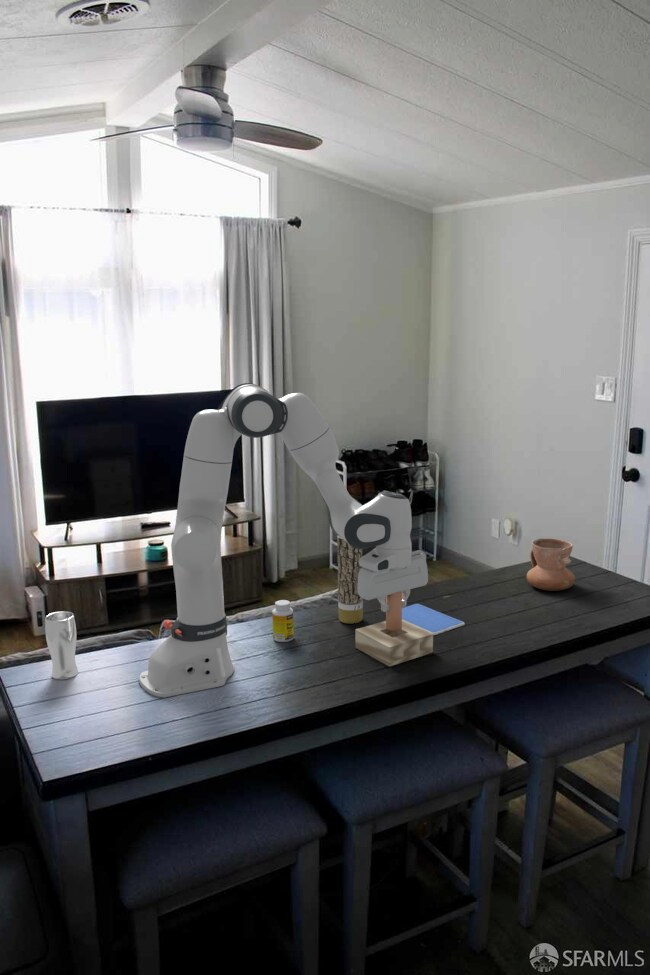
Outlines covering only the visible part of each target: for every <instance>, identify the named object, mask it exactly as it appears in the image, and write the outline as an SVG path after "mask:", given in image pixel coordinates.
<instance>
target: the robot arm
mask: <svg viewBox="0 0 650 975" xmlns="http://www.w3.org/2000/svg"><path fill="white" fill-rule="evenodd" d="M187 433H188V434H187V438H186V441H185V446H184V452H183V458H182V459H183V460H182V467H181V476H180V480H179V481H180V482H179V491H178V500H177V501H178V502H177V509H176V518H175V525H174V531H173V536H172V539H171V544H170V546H171V547H170V548H171V557H172V558H171V560H172V568H173V576H174V583H175V584H174V585H175V591H176V592H175V594H176V611H177V617H176V618H175V621H174V622H172V621H171V620H169V619H165V620H164V621H163V628H165V629H166V630H168V631H170V632H171V633H170V635H169V636H168V637H167V638H166V639H165V640H164V641H163V642H161V644H160V645H159V646H158V647H156V649H155V650H153V651H152V652H151V654H150V656H149V659H148V664H147V665H148V666H147V667H148V668H147V670H144V671H141V673H139V677H138V682H139V685H140V686H141V687H142V689H143V690H144V691H145V692H147V693H148V694H150V695H152V696H155V697H158V698H168V697H173V696H180V695H182V694H188V693H193V692H198V691H203V690H209V689H213V688H218V687H223V686H225V684H226V683H227V680H228V679H229V677H230V676H232V675H233V673H234V671H235V667H234V665H233V662H232V659H231V658H232V657H231V654H230V652H229V645H228V640H227V635H228V622H227V614H226V613H225V600H224V599H225V598H224V596H225V595H224V579H223V578H224V577H223V567H222V551H221V550H222V548H221V547H222V546H221V545H222V544H221V543H222V542H221V541H222V530H223V529H222V528H223V523H224V516H225V511H226V510H225V509H226V504H227V497H228V492H229V488H230V486H229V485H230V479H231V470H232V467H233V466H232V465H233V459H234V458H233V456H234V448H235V447H236V444H237V442H238V440H239V438H240V437H241V436H242V435H243V436H245V437H248V438H252V439H257V438H264V437H266V436H267V437H268V436H270V435H276V434H278V436H280V438H281V439H282V441H283V443H284V445H285V446H286V448H287V450H288V452H289V454H290V455H291V457H292V458H293V460H294V461H295V462H296V464H297V465H298V466H299V467H300V469H301V470H302V471H303V472H304V473H305V474H307V475H308V476H309V477H310V478H311V479H312V481H313V483H314V485H315V486H316V489H317V490H318V492H319V493H320V495H321V498H322V499H323V501H324V503H325V505H326V509H327V514H328V523H329V527H330V528H331V530H332V531H333V532H334V534H335V535H337V536H340V537H341V538H342V539H343V540H345V541H346V542H347V543H348V544H349V545H350V546H352V547H354V548H357V549H362V550H366V549H371V548H373V549H372V550H370V551H369V552H367V553H366V554H365V555H362V557H361V558H360V559H359V565H360V566H362V568H361V569H360V571H359V573H358V586H357V587H358V594H359V596H360V597H361V598H363V599H364V600H366V601H371V600H374V599H377V600H378V602H379V604H380V610H381V612H383V613H386V612H387V611H389V610H390V604H387V603H386V599H387V595H390V594H394V593H396V592H400V591H402V608H404V607H407V600H408V599H409V597H410V595H411V590H413V589H415V588H416V589H417V588H420V587H424V586H426V585H427V583H428V582H429V572H428V570H429V569H428V564H427V554H426V553H425V552H424V551H422V549H419V550H418V549H417V550H412V546H413V545H412V539H411V533H412V532H411V531H412V529H413V528H412V526H413V525H412V521H413V519H412V508H411V503H410V499H409V498H408V497H406V496H405V495H403V494H402V493H398V492H394V491H380V492H379V493H378V494H377V495H376V496H375V497H374V498H373V499H371V500H370V501H368V502H366V503H364V504H362V503H361V502H360V501H359V500H357V499H355V498H354V497H352V495H351V494H350V493H349V491H348V490H347V487H346V485H345V484H344V482H343V480H342V478H341V476H340V474H339V471H338V470H337V467H336V462H337V461H338V458H339V456H340V449H339V446H338V443H337V440H336V437H335V435H334V433H333V430H332V429H331V427H330V425H329V424H328V421H327V420H326V418H325V417H324V416H323V414H322V413H321V411H320V410H319V409H318V407H317V406H316V404H315V403H314V401H312V400H311V399H310V397H309V396H308V395H307V394H304V393H303V392H292V393H289V394H286V395H284V396H283V397H280V398H278V397H277V398H276V397H275V396H273V395H272V394H271V393H270V392H269V391H268V390H267V389H265V388H264V387H262V386H260V385H257V384H255V383H251V382H250V383H248V382H244V383H241V384H238V385H236V386H235V387H233V388H232V389H231V390H230V391H229V392H228V393H227V395H226V396H225V398H224V399H223V400H222V401H221V403H220V404H219V405H218V407H217V409H203V410H201V411H198V412H197V413H196V414H195V415H194V416H193V418H192V421H191V423H190V425H189V430H188V432H187ZM374 547H375V548H374Z"/></svg>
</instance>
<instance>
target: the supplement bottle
mask: <svg viewBox="0 0 650 975" xmlns="http://www.w3.org/2000/svg"><path fill="white" fill-rule="evenodd" d="M271 612H272V613H271V614H272V637H273V640H274V641H275V642H279V643H287V642H290V641H292V640H294V637H295V633H294V632H295V631H294V629H295V628H294V626H295V625H294V610H293V608H292V607H291V602H290V601H289V600H286V599H280V600H277V601H275V602H274V608H273V609H272V611H271Z"/></svg>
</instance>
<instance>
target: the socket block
mask: <svg viewBox="0 0 650 975" xmlns="http://www.w3.org/2000/svg"><path fill="white" fill-rule="evenodd" d="M354 630H355V633H354V634H355V636H354V637H355V641H354V642H355V649H357V650H359V651H360V652H363V653H364V654H366V655H368V656H370V657H371V658H373V659H375V660H377V661H378V662H380V663H382V664H384V665H385V666H387V667H393V666H395V665H399V664H401V663H405V662H408V661H410V660H414V659H416V658H417V659H418V658H420V657H423V656H426V655H427V656H428V655H430V654H432V653H434V635H433V634H432V633H430V632H428V631H426V630H424V629H422V628H420V627H417V626H415V625H413V624H411V623H409V622H407V621H405V620H403V619H402V629H400V630H396V631H392V630H388V629H387V628H386V620H383V621H380V622H377V623H373V624H369V625H366V626H363V627H360V628H356V629H354Z"/></svg>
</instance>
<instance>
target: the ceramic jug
mask: <svg viewBox="0 0 650 975" xmlns="http://www.w3.org/2000/svg"><path fill="white" fill-rule="evenodd" d="M573 547H574V546H573V543H572V542H569V541H566V540H562V539H558V538H550V537H549V538H536V539H533V540H532V541H531V551H530V554H529V557H530V562H531V566H532V568H530V569H529V570H528V571H527V573H526V580H527V582H528V583H529V584H530V585H531V586H532V587H534V588H536V589H539V590H542V591H547V592H558V591H565V590H567V589H569V588H571V587H572V586H573V585H574V584H575V582H576V576H575V574H573V572H572V571H571V570H570V569H568V568H567V567H566V565H568V564H570V563H571V562H572V560H571V559H570V556H571V555H572V552H573Z"/></svg>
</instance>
